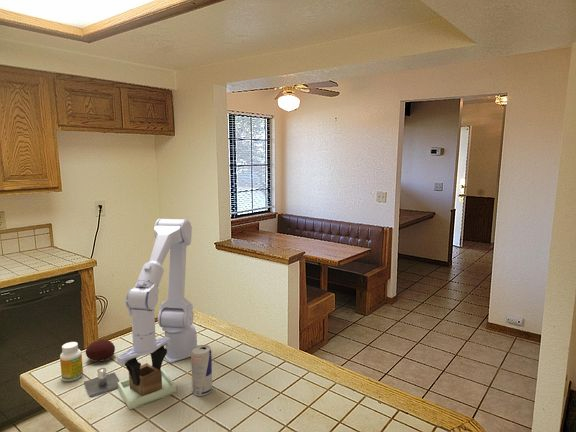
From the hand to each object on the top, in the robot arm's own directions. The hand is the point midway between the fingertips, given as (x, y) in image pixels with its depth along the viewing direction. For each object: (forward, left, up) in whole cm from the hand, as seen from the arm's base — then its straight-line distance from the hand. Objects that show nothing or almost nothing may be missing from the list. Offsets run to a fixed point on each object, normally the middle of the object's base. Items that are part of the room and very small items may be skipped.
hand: (146, 379), depth 105 cm
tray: (0, 0, -3) cm, 3 cm away
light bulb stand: (+9, -10, -3) cm, 14 cm away
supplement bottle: (+15, -20, -4) cm, 25 cm away
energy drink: (-12, +9, -4) cm, 15 cm away
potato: (+6, -26, -4) cm, 27 cm away
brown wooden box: (0, 0, -3) cm, 3 cm away
